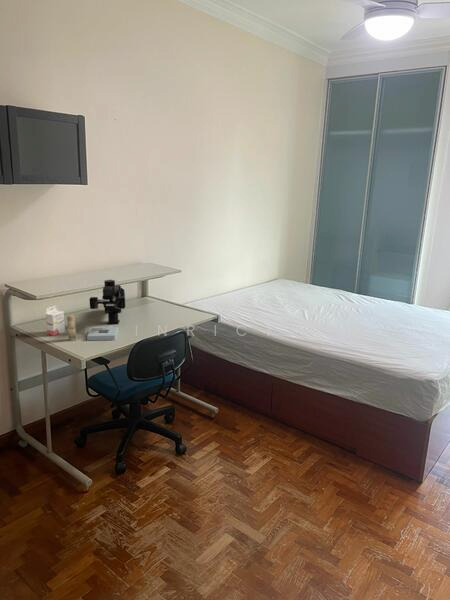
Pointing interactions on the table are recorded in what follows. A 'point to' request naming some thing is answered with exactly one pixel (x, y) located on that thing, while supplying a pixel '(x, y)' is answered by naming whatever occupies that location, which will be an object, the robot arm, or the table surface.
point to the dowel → (71, 328)
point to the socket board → (103, 333)
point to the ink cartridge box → (54, 321)
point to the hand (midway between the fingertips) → (105, 306)
